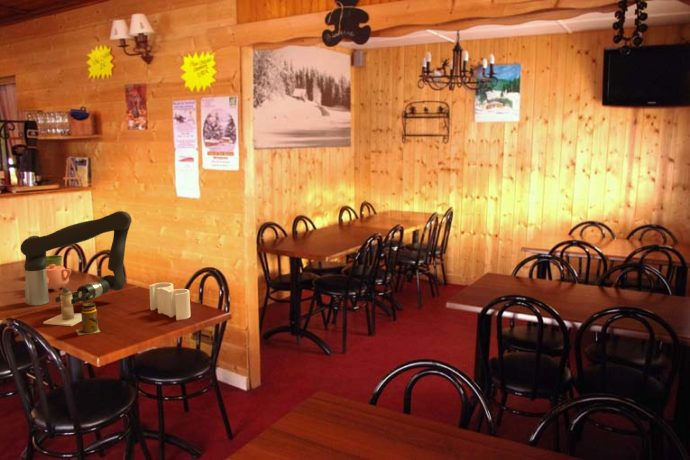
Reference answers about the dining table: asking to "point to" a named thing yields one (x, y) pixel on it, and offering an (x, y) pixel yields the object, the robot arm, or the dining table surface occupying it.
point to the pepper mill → (66, 304)
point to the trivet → (60, 321)
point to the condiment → (88, 319)
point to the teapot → (57, 277)
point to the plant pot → (53, 260)
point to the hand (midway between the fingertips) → (64, 300)
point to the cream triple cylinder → (170, 300)
